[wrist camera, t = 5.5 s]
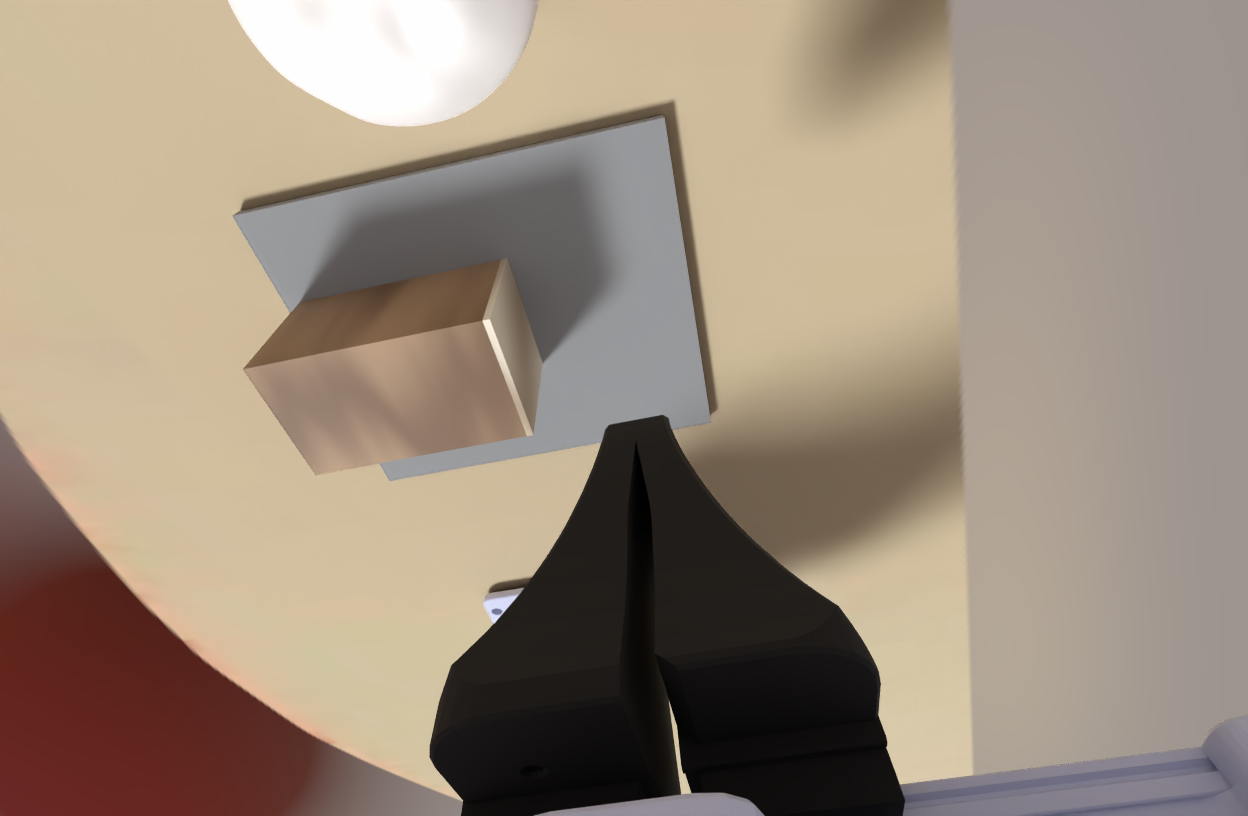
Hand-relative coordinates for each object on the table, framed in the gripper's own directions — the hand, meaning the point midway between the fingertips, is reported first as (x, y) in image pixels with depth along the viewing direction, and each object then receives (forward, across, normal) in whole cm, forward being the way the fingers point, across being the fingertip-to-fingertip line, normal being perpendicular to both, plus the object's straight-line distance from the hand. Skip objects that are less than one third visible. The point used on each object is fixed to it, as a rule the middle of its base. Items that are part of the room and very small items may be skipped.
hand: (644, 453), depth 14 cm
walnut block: (+6, +4, 0) cm, 7 cm away
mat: (+8, +4, 0) cm, 10 cm away
